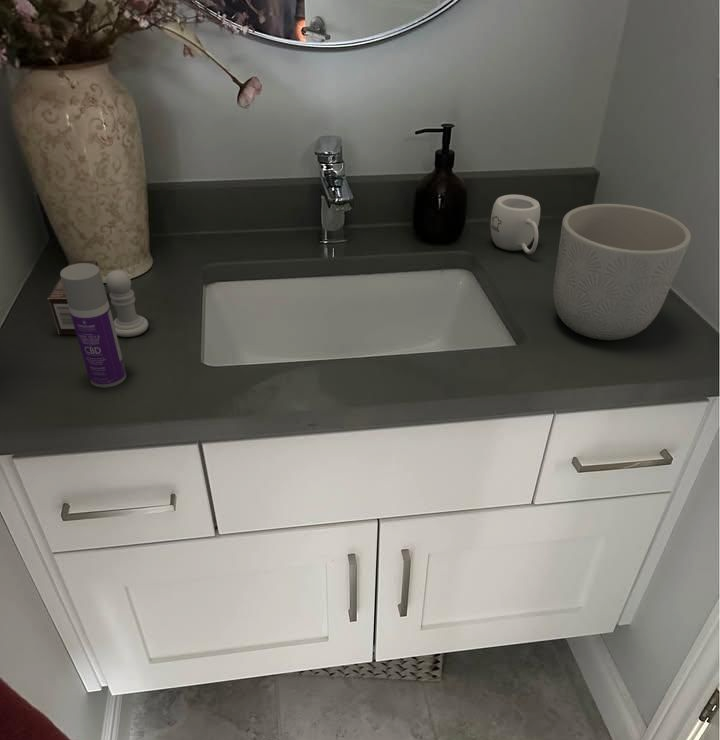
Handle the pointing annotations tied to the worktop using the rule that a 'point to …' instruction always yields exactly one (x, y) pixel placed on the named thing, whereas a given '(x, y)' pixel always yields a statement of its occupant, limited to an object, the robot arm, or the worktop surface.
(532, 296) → the worktop surface
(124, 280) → the chess piece
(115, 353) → the container
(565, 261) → the planter
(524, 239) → the mug
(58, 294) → the box
